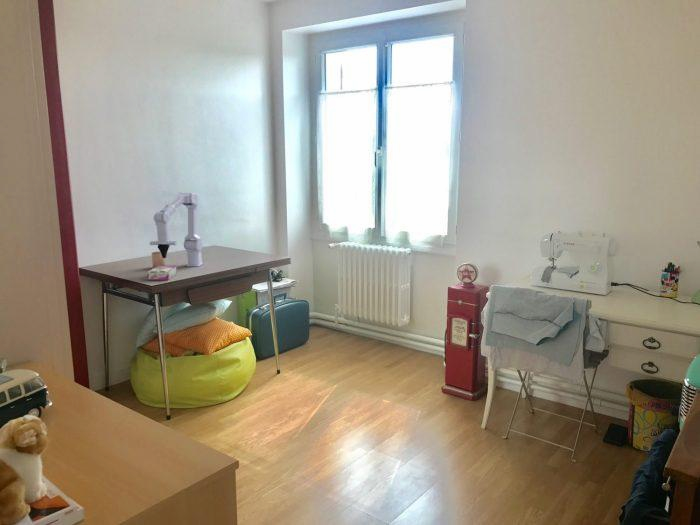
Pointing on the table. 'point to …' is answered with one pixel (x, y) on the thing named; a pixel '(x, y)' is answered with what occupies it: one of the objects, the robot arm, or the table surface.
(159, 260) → the terracotta pencil cup
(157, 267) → the candy bar box
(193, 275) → the table surface
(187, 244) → the robot arm
